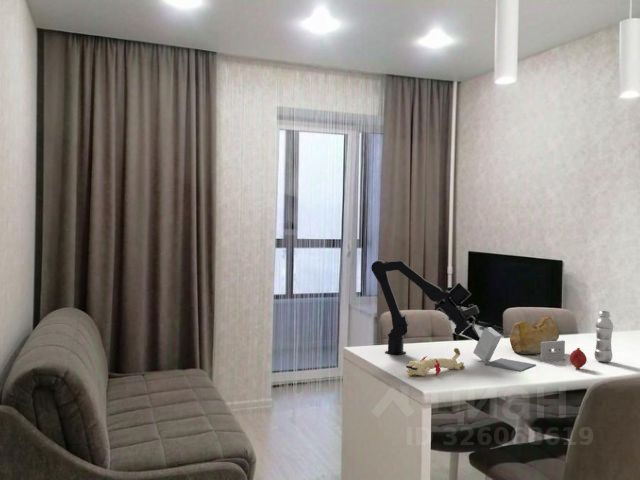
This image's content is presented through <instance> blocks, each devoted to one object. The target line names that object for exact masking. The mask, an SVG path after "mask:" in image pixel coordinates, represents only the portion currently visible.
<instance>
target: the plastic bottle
mask: <svg viewBox="0 0 640 480" xmlns="http://www.w3.org/2000/svg"><path fill="white" fill-rule="evenodd" d="M598 315H599V318H598V319H597V320H596V322H595V332H596V334H595V335H596V343H595V350H594V353H593V354H594V359H595V360H596V361H599V362H601V363H610V362H611V361H612V360H613V351H612V336H613V332H614V330H613V329H614V325H613V322H612V320H611V318H610V316H611V314H610V311H607V310H600V311H599V314H598Z"/></svg>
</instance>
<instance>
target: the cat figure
mask: <svg viewBox="0 0 640 480" xmlns="http://www.w3.org/2000/svg"><path fill="white" fill-rule="evenodd" d="M453 352H454V353H455V354H454V355H453V357H451V358H444V357H442V358H439V357H438V358H429V359H426V358H428V356H427V355H426V356H423V358H421V360H420V361H419V360H410V361H409V362H408V364H407V365H406V369H407V370H405V372H406V373H407V375H409V376H415V375H417V376H426V374H429V371H431V370H433V369H434V370H435V373H434V375H435V376H438V375H439V374H440V373H441V368H443V369H450V370H460V371H463V370H464V369H465V366H464V365H465V364H464V362H462V361H460V362H459V363H458V361H457V359H458V358H459V357H460V356H461V352H460V349H459V348H458V347H455V348H453Z"/></svg>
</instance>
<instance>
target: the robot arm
mask: <svg viewBox="0 0 640 480" xmlns="http://www.w3.org/2000/svg"><path fill="white" fill-rule="evenodd" d="M370 267H371V268H370V269H371V271H372V273H373V276H374V277H375V278H376V280H377V281H378V283H379V285H380V288H381V291H382V293H383V296H384V299H385V302H386V304H387V307H388V309H389V313H390V316H391V324H392V328H391V329H390V331H389V332H388V334H387V336H388V338H387V350H386V351H384V353H385V354H390V355H396V356H399V355H403V354H406V353H407V351H404V337H403V336H405V335H406V334H407V333H408V330H409V325H410V322H409V321H408V317H407V314H404V315H403V314H402V312H401V310H400V307H399V305H398V302H397V298H396V296H395V294H394V291H393V288H392V286H391V282H390V280H389V278H390V277H389V272H391V271H399V272H400V273H402V275H404V276H405V277H406V278H408V279H409V280H410V282H412V283H414V284H415V285H416V286H417V287H419V288H420V289H421V290H422V292H424V294H425V296H427V297H428V299H429V300H430V301H432V302H438V303H434V311H438V310H439V309H440V310H441V311H442V312H443V314H444V315H445V316H446V317H447V319H448V320H449V321H451V322H452V323H453V324H454V325H455V328H454V333H455V334H456V335H457V336H459V335H463V336H465V337H468V338H469V339H471V340H474V341H476V342H478V341H479V339H480V337H481V336H480V335H479V333H478V332H477V330H476V329H475V324H476V323H475V320H476V317H475V316H476V315H478V314H480V310H479V307H478V306H477V305H474V304H473V303H471V304H469V305H468V308H466V309H463V308H461V307H459V306H457V304H463V302H465V301H466V300H467V299H468V298H469V297H470V296H471V295H472V293H471V292H470V291H469V290H468V289H467V288H466V287H464V285H462V284H461V283H460V282H457V283H456V284H455V286H453V288H452V289H450V290H446V289H442V288H441V287H440V286H438V285H436V284H434V283H433V282H431V281H428V280H426V279H425V278H424V277H423V276H421V275H420V274H419V273H417V272H416V271H415V270H414V269H412V268H411V267H410V266H409V265H408V264H406V263H405V261H403V260H402V259H401V260H400V259H399V260H392V261H391V260H390V261H383V260H382V259H379V260H376V261H374V262H373V263H371V266H370Z"/></svg>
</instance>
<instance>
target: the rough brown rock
mask: <svg viewBox="0 0 640 480" xmlns="http://www.w3.org/2000/svg"><path fill="white" fill-rule="evenodd" d="M559 333H560V332H559V329H558V325H557V323H556V322H555V321H554V320H553V318H552V317H551V316H549V315H548V316H544V317H541V318H539V319H538V320H537V321H535V323H534V324H531V323H529V322H528V321H518V322H515V323H514V324H513V327H512V329H511V332H510V334H509V342H510V347H511V349H512V351H513V352H514V353H516V352H517V354H521V355H532V354H533V355H537V354H541V342H549V341H559V338H560V334H559Z"/></svg>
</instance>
